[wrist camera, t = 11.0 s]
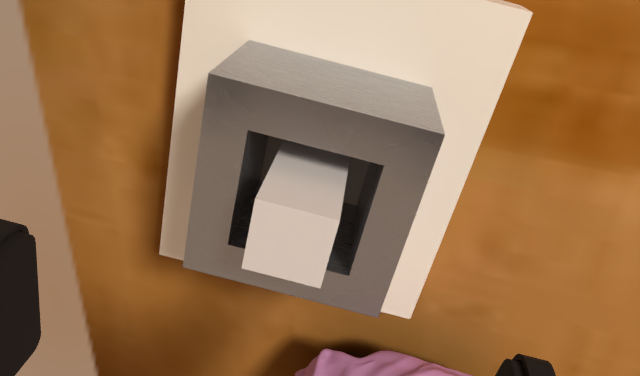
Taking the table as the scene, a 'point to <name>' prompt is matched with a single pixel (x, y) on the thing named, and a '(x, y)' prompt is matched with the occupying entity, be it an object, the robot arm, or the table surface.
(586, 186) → the table surface
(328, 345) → the table surface
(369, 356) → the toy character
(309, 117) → the collar
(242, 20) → the post plinth
